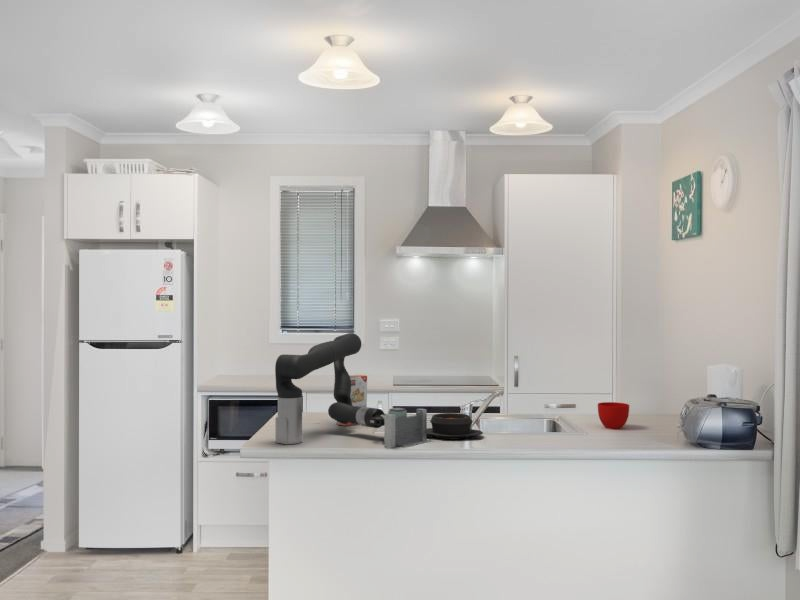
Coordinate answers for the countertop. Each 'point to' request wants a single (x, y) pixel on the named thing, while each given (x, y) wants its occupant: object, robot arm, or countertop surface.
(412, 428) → the grey wall block
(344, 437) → the countertop surface
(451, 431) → the casserole
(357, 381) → the cracker box
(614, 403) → the ceramic cup
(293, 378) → the robot arm
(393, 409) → the block
